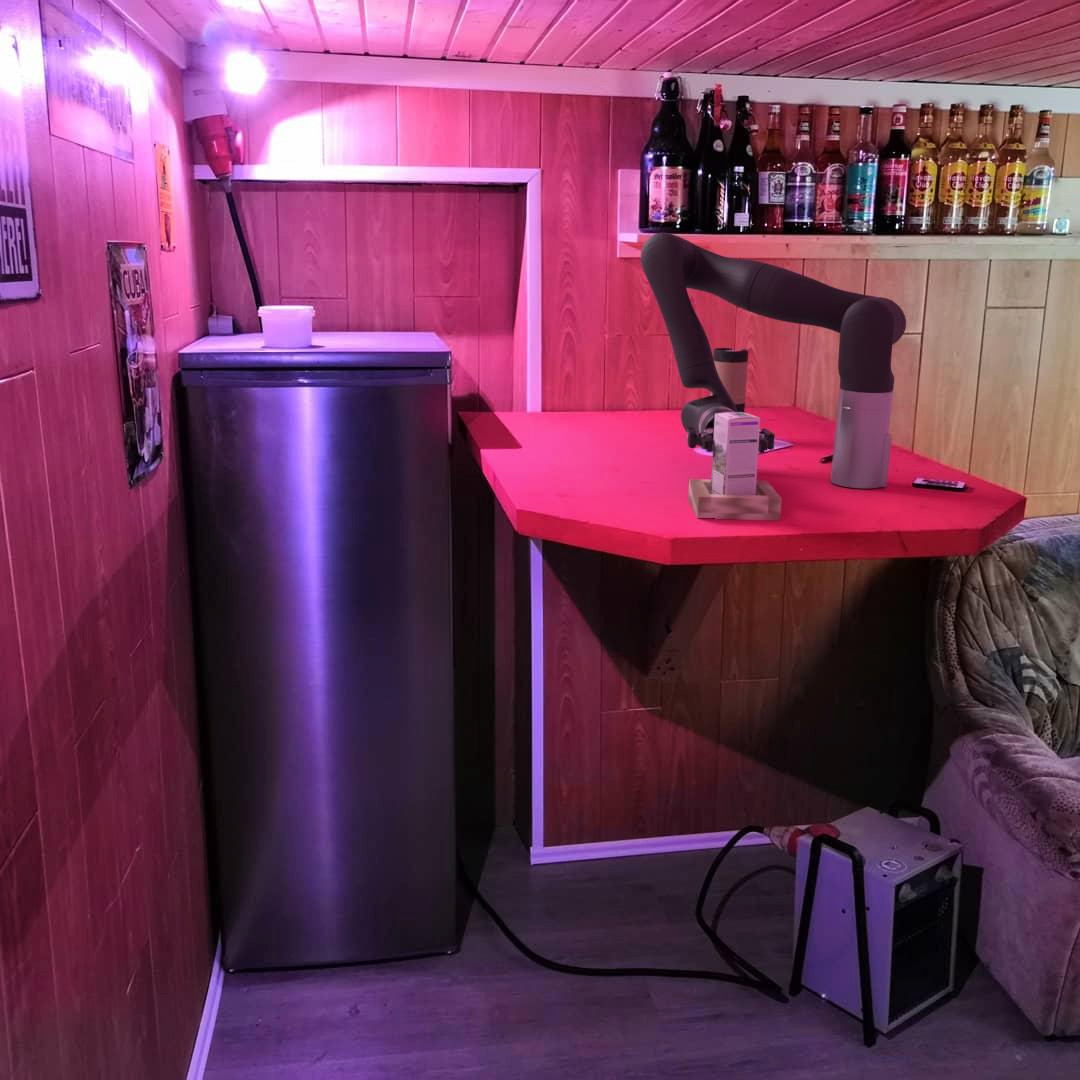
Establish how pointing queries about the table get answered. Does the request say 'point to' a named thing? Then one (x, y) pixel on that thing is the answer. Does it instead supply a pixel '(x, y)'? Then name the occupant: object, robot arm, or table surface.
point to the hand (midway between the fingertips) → (736, 446)
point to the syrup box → (735, 454)
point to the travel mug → (733, 373)
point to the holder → (734, 502)
